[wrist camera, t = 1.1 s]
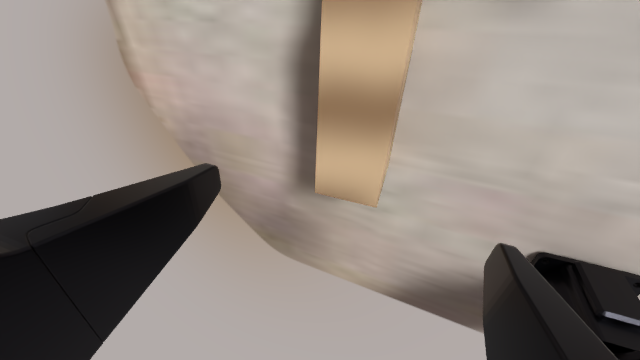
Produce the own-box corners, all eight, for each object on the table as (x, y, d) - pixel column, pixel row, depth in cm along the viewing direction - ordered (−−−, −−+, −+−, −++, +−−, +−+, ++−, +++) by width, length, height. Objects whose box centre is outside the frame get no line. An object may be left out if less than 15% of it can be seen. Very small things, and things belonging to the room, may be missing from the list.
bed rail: (387, 166, 22) (376, 207, 18) (336, 156, 23) (314, 192, 19) (440, -86, 14) (440, -113, 10) (356, -85, 15) (325, -110, 11)
